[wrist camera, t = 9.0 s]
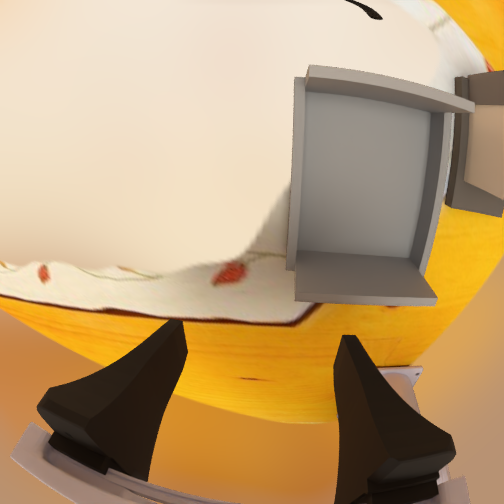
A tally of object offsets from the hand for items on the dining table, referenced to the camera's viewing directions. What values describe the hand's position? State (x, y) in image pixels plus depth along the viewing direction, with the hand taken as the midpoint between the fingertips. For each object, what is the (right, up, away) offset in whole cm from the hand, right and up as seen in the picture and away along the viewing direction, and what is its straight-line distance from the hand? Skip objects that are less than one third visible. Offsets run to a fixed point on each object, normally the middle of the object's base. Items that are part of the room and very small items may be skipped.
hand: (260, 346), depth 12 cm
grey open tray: (+7, +9, +6) cm, 13 cm away
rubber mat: (+17, +12, +3) cm, 21 cm away
